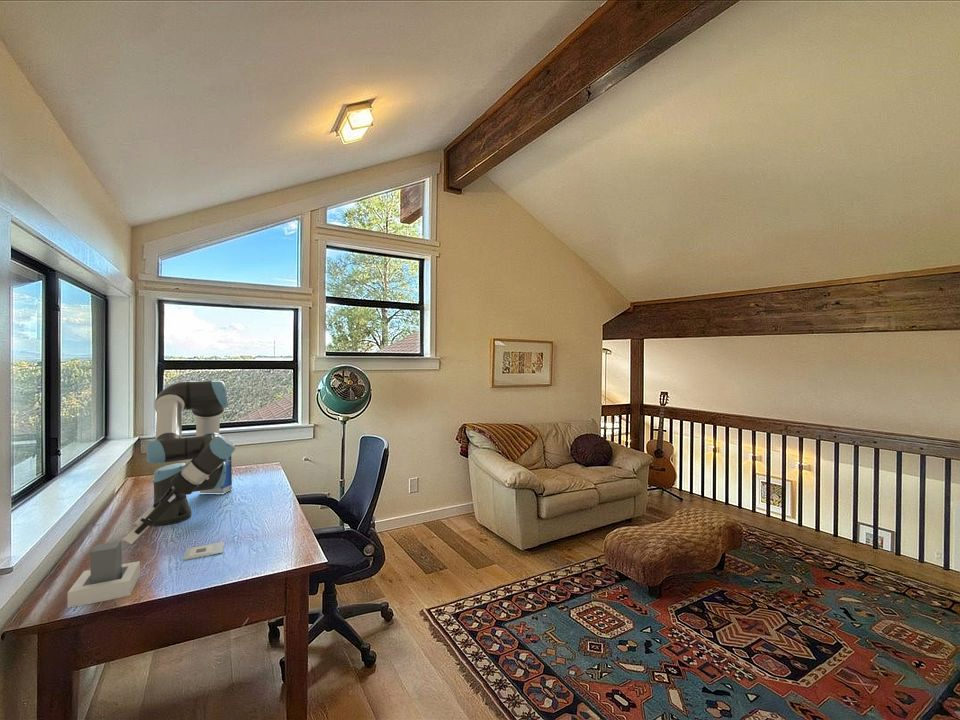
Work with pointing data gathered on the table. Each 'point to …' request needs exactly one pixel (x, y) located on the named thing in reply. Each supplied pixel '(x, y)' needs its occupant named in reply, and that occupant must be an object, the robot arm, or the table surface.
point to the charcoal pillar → (106, 562)
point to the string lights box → (227, 482)
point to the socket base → (103, 587)
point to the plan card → (203, 550)
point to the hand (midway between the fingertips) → (132, 533)
